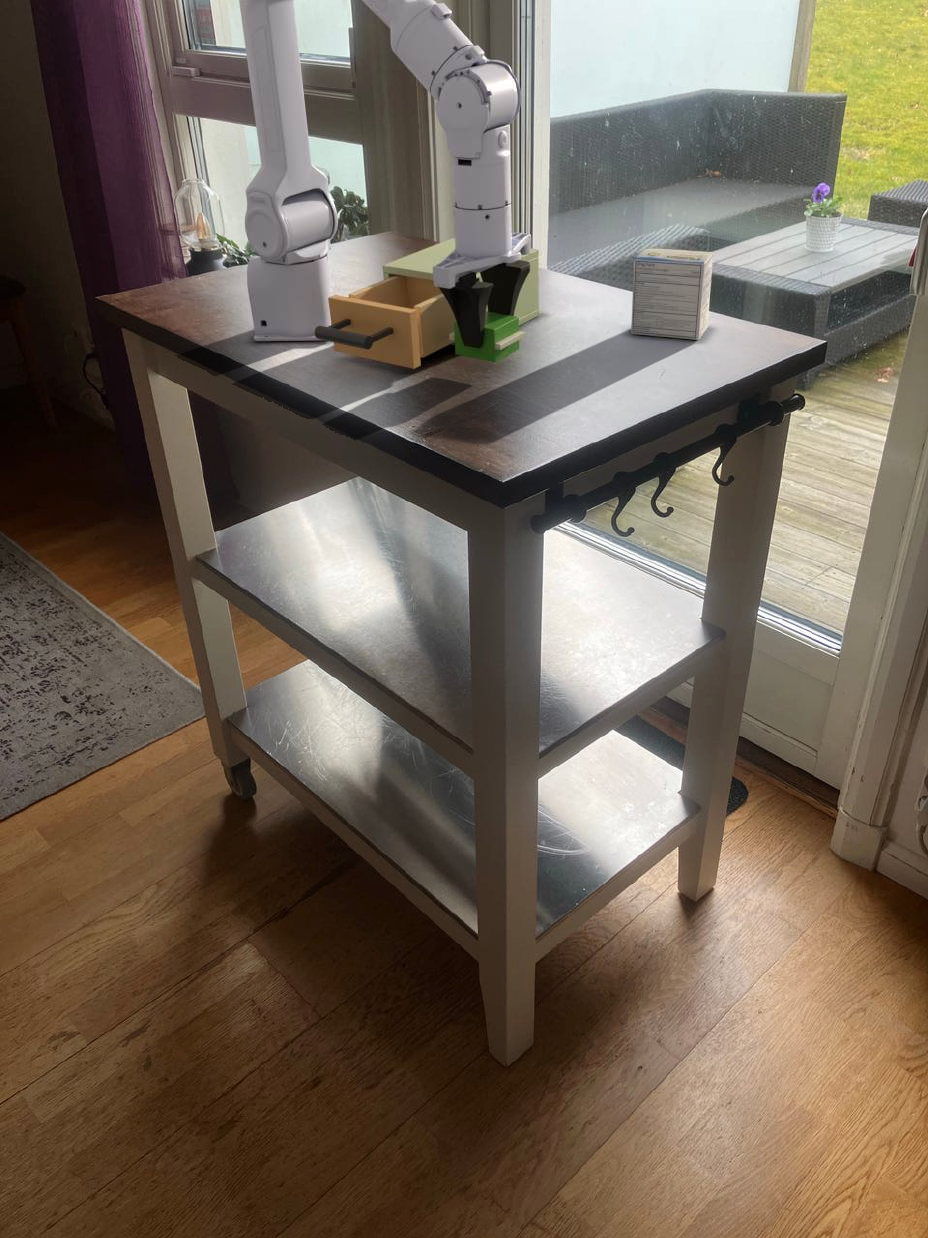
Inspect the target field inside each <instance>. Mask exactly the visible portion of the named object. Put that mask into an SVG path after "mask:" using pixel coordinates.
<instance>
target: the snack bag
mask: <svg viewBox="0 0 928 1238" xmlns="http://www.w3.org/2000/svg"><path fill="white" fill-rule="evenodd" d="M525 335H526V332H525V331H523V330H520V326H519V317H515V316H509V315H504V314H498V313H493V312H487V311H486V314H485V333H484V341H483V345H482V347H481V348H473V347H468V346H464V344H463V341H462V338H461V335H460V331H459V328H458V325H457V322H456V321H455V322H454V332H453V333H451V334H449V339H450V340H453V341H455V345H454V351H455V352H454V353H455V355H457V356H462V357H467V358H472V359H477V360H482V361H485V362H491V363H497V362H498V361H501V360H503V359H504V358H506V357H508V356H509V355H512V354H513V353H515V352H517V351H519V350H520V340H522V339H524V338H525Z"/></svg>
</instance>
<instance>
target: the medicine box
mask: <svg viewBox="0 0 928 1238" xmlns="http://www.w3.org/2000/svg"><path fill="white" fill-rule="evenodd" d="M713 263H714V253H713V252H711V251H701V250H700V251H698V250H687V249H686V250H685V249H668V248H645V249H644V250H642V251H641V252H640V253H639V254H638V255H636V257H635V258H634V259H633V275H632V276H633V277H632V278H633V280H632V297H631V300H632V302H631V303H632V305H631V324H630V325H631V327H630V334H631V335H639V336H649V337H652V336H653V337H663V338H672V339H684V340H695V341H699V340H700V338H701V337H702V336H703V334H704V333H705V332H706V330H707V329H708V326H709V318H710V317H709V315H710V314H709V313H710V300H711V288H712V277H713Z"/></svg>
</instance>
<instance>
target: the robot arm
mask: <svg viewBox="0 0 928 1238" xmlns="http://www.w3.org/2000/svg"><path fill="white" fill-rule="evenodd" d="M238 1H239V2H238V3H239V10H240V17H241V24H242V31H243V32H242V33H243V39H244V40H243V41H244V46H245V55H246V63H247V69H248V76H249V84H250V92H251V99H252V106H253V114H254V120H255V127H256V128H255V130H256V136H257V143H258V150H259V156H260V158H259V159H260V168H259V169H258V171H257V172H256V174H255V175H254V176H253V178H252V180H251V181H250V183H249V184H248V185H247V186H246V189H245V196H246V211H245V216H244V230H245V236H246V238H247V240H248V242H249V245H250V246H251V248H252V249H253V251H254V252H255V253H256V254H257V255H258V256H257V255H256V256H253V257H251V258H250V259H249V261H248V264H247V267H246V285H247V286H246V287H247V293H248V299H249V305H250V311H251V317H252V322H253V329H254V334H255V335H254V337H253V340H254V341H255V342H283V341H284V342H290V341H291V342H294V341H295V342H296V341H298V342H301V341H302V342H303V341H311V342H312V341H321V340H320V339H317V338H316V337H315V329H316V327H317V326H325V327H328V326H330V325H331V318H330V310H329V302H328V298H329V297H331V296H334V295H333V287H332V281H331V278H332V277H331V271H330V262H329V254H328V251H330V250H331V249H332V246H331V244H332V243H331V240H333V238H335V236H336V234H337V231H338V227H339V217H338V211H337V208H336V205H335V203H334V200H333V198H332V196H331V193H330V188H329V179H328V177H327V176H326V175H325V174H324V173H323V172H322V171H320V170H319V169H318V168H317V167H316V166H314V165H313V163H312V158H311V157H312V156H311V149H310V140H309V139H310V138H309V131H308V130H309V129H308V122H307V113H306V112H307V111H306V103H305V94H304V85H303V83H304V82H303V75H302V74H303V73H302V67H301V66H302V65H301V56H300V48H299V47H300V46H299V37H298V29H297V28H298V27H297V20H296V19H297V18H296V12H295V2H294V0H238ZM361 1H362V2H363V3H364V4H365V5H366V6H367V8H369V9H370V11H372V12H373V14H375V16H377V17H378V18H379V20H381V21H382V22H383V23H384V24H385V26H387V27H388V28H389V30H390V48H391V50H392V52H393V53H394V54H395V55H396V56H397V58H398V59H399V61H401V62H402V63H403V65H404V66H405V67H406V68H407V69H408V70H409V72H410V73H411V74H412V75H413V76H414V77H415V78H416V79H417V80H418V81H419V83H420V84H421V85H422V86H423V87H424V88H425V89H426V90H427V92H428V94H430V95H431V97H432V98H433V99H434V100H435V101H436V102H435V103H434V111H435V114H436V117H437V120H438V123H439V124H440V126H441V128H442V129H443V131H444V134H445V136H446V141H447V151H449V152H450V162H451V178H452V180H451V182H452V183H451V184H452V196H453V197H452V198H453V199H452V201H453V204H452V207H453V223H454V225H453V226H454V238H455V247H456V249H455V250H454V251H452V252H451V253H450V254H449V255H448V256H447V257H446V258H445V259H444V260H443V261H442V262H440V263H439V264H437V265H435V266H433V281H434V286H436V287H439V289H440V291H441V292H442V293H443V295H444V296H445V298H446V300H447V301H448V303H449V305H450V307H451V309H452V311H453V314H454V316H455V319H456V322H457V325H458V328H459V331H460V335H461V338H462V341H463V344H464V346H468V347H473V348H481V347H482V345H483V341H484V333H485V314H486V308H487V307H488V312H493V313H498V314H504V315H509V316H514V312H515V308H516V304H517V300H518V297H519V294H520V291H521V288H522V286H523V284H524V281H525V279H526V277H527V276H528V274H529V272H530V262H528V261H522V260H520V259H521V254H522V255H527V254H529V253H531V249H532V234H531V233H526V232H525V233H523V232H513V230H512V229H513V227H512V226H513V225H512V224H513V222H512V221H513V220H512V173H511V172H512V170H511V169H512V167H511V166H512V165H511V124H512V123H513V122H514V121H515V120H516V118H517V117H518V115H519V112H520V109H521V105H522V91H521V87H520V83H519V81H518V79H517V76H516V75H515V73H514V72H513V71H512V68H511V66H510V65H509V64H508V63H507V62H505V61H502V60H498V59H489V58H487V57H486V55H485V51H484V50H483V49H482V48H481V47H480V46H479V45H478V44H477V45H474V43H472V42H471V40H470V39H469V38H468V37H467V36H466V35H465V34H464V33H463V31H462V30H461V29H460V28H459V27H458V25H456V24H455V22H453V20H452V19H451V18H450V17H451V16H452V14H453V13H452V10H451V9H450V8H449V6H448V5H446V3H444V2H440V3H437V2H436V1H435V0H361ZM479 272H480V275H481V278H482V281H483V282H480V281H479V278H477V279H476V274H477V273H479Z"/></svg>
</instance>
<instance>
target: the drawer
mask: <svg viewBox="0 0 928 1238" xmlns="http://www.w3.org/2000/svg"><path fill="white" fill-rule="evenodd" d="M328 302H329V310H330V318H331V325H330V326H328V327H325V326H317V327H316V329H315V337H316V338H317V339H320V340H319V341H326V342H330V343H333V350H334V352H336V353H341V354H345V355H350V356H354V357H358V358H363V359H368V360H373V361H376V362H380V363H386V364H390V365H395V366H398V367H403V368H408V369H413V370H415V369H417V368H419V367H421V358H425V357H427V356H429V355H431V354H434V353H435V352H437V351H439V350H441V349H443V348H445V347H447V346H449V345H450V344H451V343H453V342H455V341H453V340H450V339H449V334H451V333H453V332H454V322H455V321H456V319H455V316H454V314H453V311H452V309H451V307H450V305H449V303H448V301H447V300H446V298H445V296H444V295H443V293H442V292H441V291H440V289H439V287H436V286H434V281H433V280H427V279H421V278H415V277H409V276H403V275H395V276H392V277H390V278H388V279H385V280H384V279H383V280H381V281H378V282H375V283H373V284H370V285H368V286H365V287H364V288H361V289H358V290H355V291H353V292H351V293H348V296H344V295H338V294H334V295H333V296H331V297H329V298H328Z"/></svg>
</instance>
